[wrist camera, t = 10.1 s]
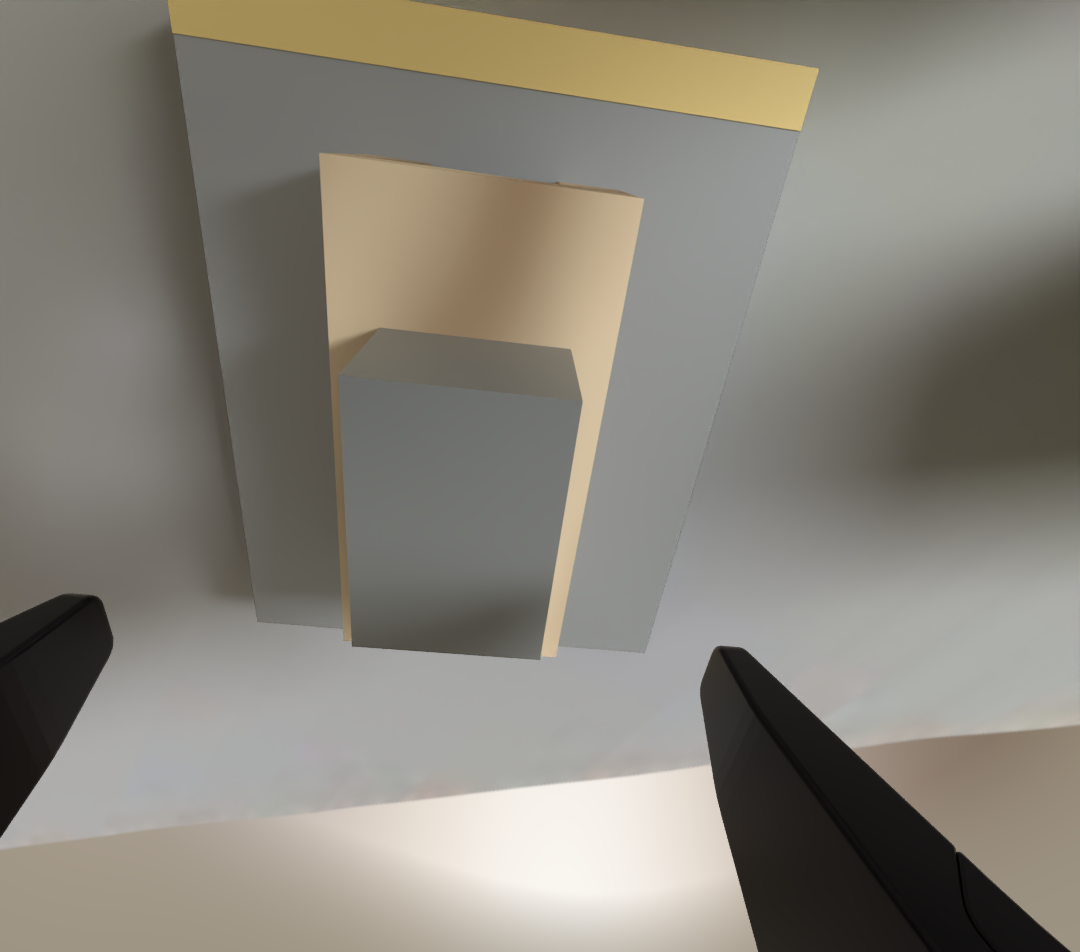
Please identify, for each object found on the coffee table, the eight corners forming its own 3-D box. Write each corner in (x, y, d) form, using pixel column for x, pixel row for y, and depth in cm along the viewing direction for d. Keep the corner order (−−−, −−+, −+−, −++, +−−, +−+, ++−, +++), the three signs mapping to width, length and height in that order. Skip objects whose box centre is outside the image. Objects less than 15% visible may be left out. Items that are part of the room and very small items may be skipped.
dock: (775, 81, 15) (819, 68, 13) (633, 607, 24) (645, 653, 21) (220, -9, 14) (161, -41, 12) (283, 576, 22) (256, 622, 20)
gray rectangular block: (570, 349, 12) (582, 400, 10) (537, 572, 15) (540, 660, 12) (380, 327, 12) (337, 375, 9) (383, 559, 15) (352, 646, 12)
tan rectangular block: (619, 190, 14) (644, 198, 11) (551, 579, 20) (555, 657, 17) (366, 154, 13) (318, 152, 10) (373, 563, 19) (343, 640, 16)
